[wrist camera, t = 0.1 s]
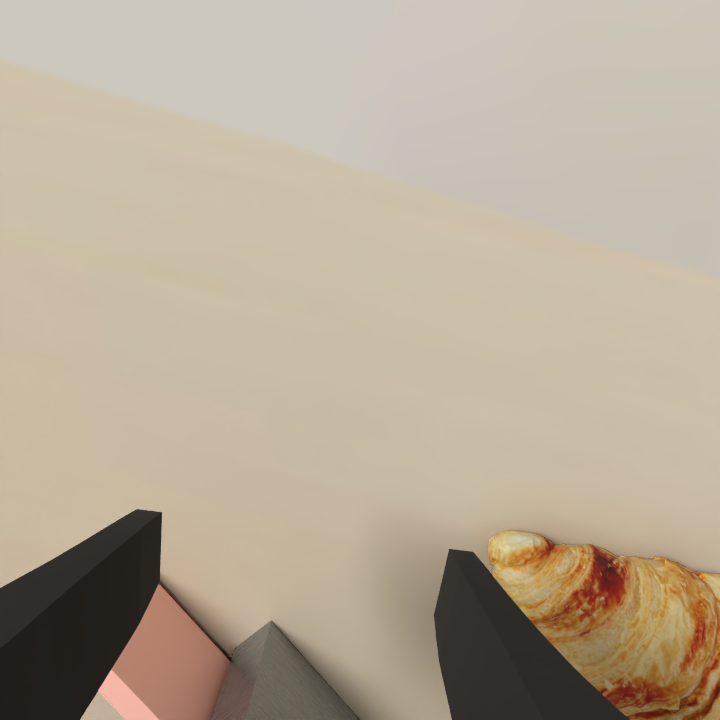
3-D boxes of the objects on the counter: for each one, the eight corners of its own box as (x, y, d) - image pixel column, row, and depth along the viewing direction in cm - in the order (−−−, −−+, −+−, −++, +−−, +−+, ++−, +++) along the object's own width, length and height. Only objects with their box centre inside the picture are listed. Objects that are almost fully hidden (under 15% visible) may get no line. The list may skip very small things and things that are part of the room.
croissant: (435, 536, 25) (416, 685, 18) (562, 437, 20) (600, 594, 13) (711, 719, 26) (789, 923, 20) (900, 670, 21) (1096, 927, 14)
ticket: (292, 756, 22) (276, 876, 17) (126, 576, 21) (60, 652, 16) (307, 745, 22) (295, 862, 17) (141, 564, 21) (79, 636, 16)
